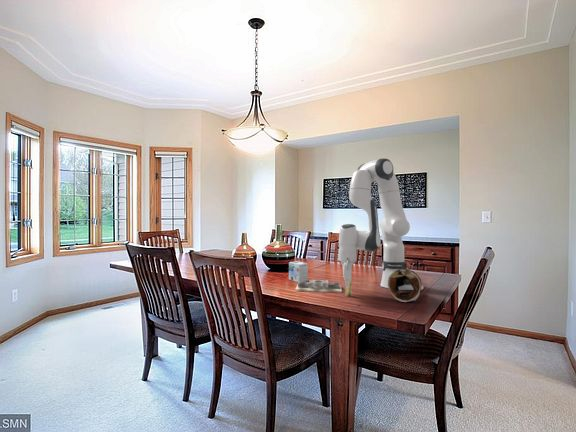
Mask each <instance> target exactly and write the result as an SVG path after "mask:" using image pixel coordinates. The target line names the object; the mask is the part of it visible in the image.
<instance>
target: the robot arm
mask: <svg viewBox="0 0 576 432" xmlns="http://www.w3.org/2000/svg"><path fill="white" fill-rule="evenodd" d="M373 182H376V184H377V189H378V190H377V191H378V197H379V204H380V208H381V210H382V212H383V215H384V218H382V220H380V223H379V214H378V207H377V203H376V201H375V200H374V199H373V198H372V183H373ZM348 199H349V201H350V203H351V204H352V205H353V206H355V207H357V208H358V209H361V210H362V211H365V212H366V214H367V219H368V230H367V231H366V230H357V226H356V224H352V223H351V224H350V223H347V224H346V223H345V224H342V225H341V226H340V229H339V235H338V244H339V247H338V253H337V254H338V255H337V256H338V258H337V259H338V261H339V262H340V264H341V265H342V266H341V267H342V274H343V280H344V288H345V287H349V279H351V276H352V274H353V273H352V271H353V270H352V268H353V267H352V265H354V263H355V262H357V250H359V251H366V252H372V253H373V252H375V251H377V250H378V249H380V247H381V241H382V245H383V247H382V248H383V260H382V264H381V265H382V267H381V269H382V276H381V281H380V285H379V286H380V287H382V288H385V289H389V288H388V279H389V276H390V275H391V274H392V273H393V272H394V271H396V270H399V269H409V267H411V264H410V262H407V261H406V260H405V246H404V243H403V237H404V236H406V235H407V234H408V233H409V231H410V229H411V226H410V223H409V221H408V220H407V217H406V213H405V211H404V207H403V204H402V199H401V192H400V186H399V182H398V179H397V176H396V174H395V173H394V165H393V163H392V161H391V160H390V159H388V158H379V159H374V160H370V161H369V162H366V163H363V164H361V165H359V166H358V168H357V170H355V171H354V172H353V173H352V176H351V179H350V183H349V192H348ZM379 225H380V226H379ZM380 230H381V232H380ZM380 233H381V235H380ZM381 239H382V240H381ZM351 280H352V279H351ZM398 289H399V291H413V290H414V289H413V287H412V285H411V284H410V285H403V286H400V287H398ZM423 289H424V285H422V287H421V290H423Z"/></svg>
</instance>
